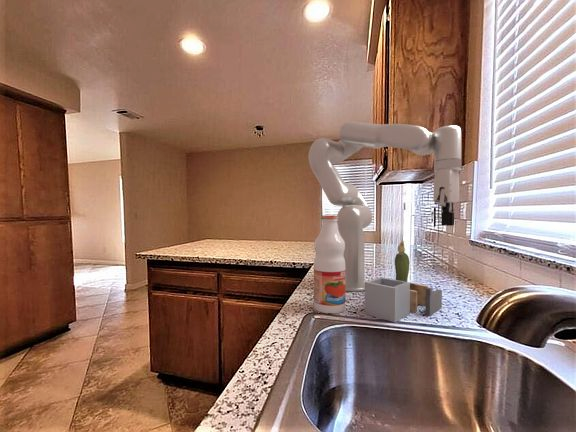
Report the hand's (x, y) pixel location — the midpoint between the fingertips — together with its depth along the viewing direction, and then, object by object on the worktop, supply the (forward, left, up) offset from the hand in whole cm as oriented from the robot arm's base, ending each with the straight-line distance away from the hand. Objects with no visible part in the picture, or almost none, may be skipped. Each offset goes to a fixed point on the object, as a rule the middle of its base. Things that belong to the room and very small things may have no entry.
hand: (447, 225), depth 90 cm
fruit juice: (-23, -31, -25) cm, 46 cm away
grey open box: (-9, -22, -25) cm, 34 cm away
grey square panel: (0, -11, -25) cm, 27 cm away
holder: (-10, -11, -25) cm, 29 cm away
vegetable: (-10, -11, -25) cm, 29 cm away
